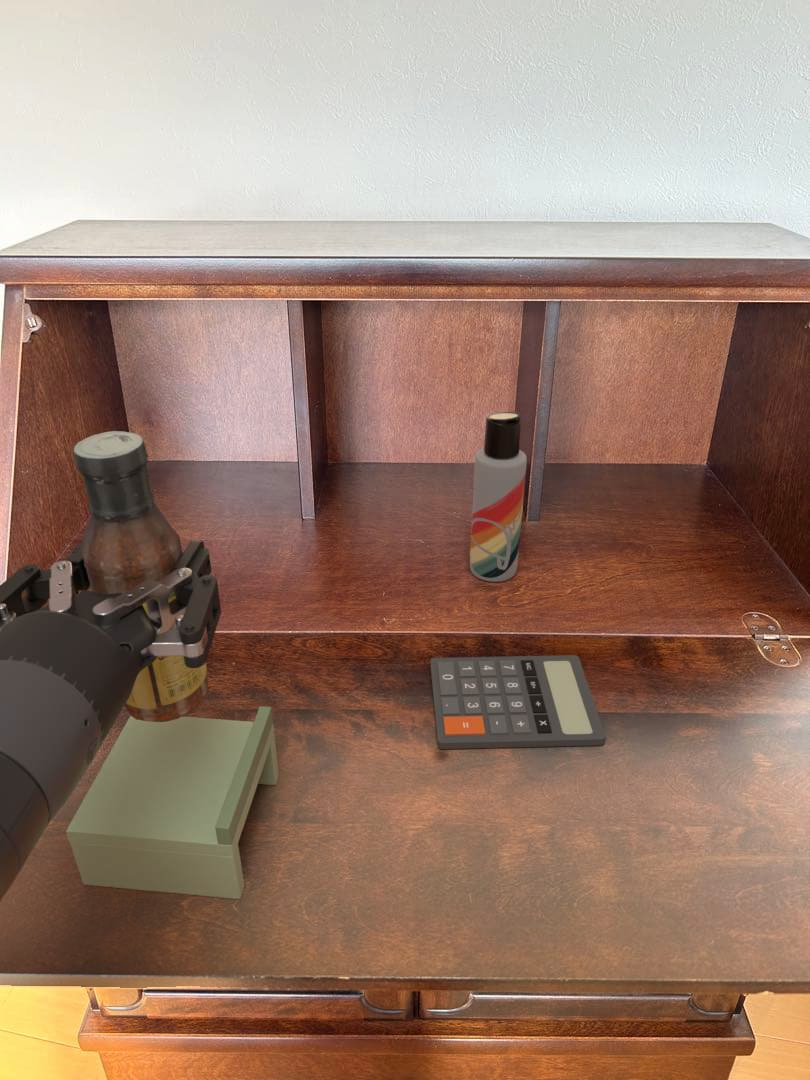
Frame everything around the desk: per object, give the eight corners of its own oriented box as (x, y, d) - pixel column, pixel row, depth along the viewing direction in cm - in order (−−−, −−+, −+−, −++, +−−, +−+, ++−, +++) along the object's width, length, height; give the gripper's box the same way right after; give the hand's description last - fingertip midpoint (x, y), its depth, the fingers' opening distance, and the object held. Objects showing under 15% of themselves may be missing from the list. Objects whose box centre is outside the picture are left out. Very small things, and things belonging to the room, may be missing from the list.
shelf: (83, 885, 60) (59, 813, 56) (143, 763, 70) (128, 696, 66) (240, 900, 59) (228, 828, 55) (279, 774, 69) (271, 706, 65)
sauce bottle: (211, 666, 61) (178, 419, 51) (208, 723, 56) (170, 459, 46) (121, 674, 60) (69, 424, 50) (109, 733, 55) (48, 466, 45)
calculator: (430, 656, 81) (578, 653, 81) (429, 663, 81) (577, 660, 82) (438, 741, 71) (606, 737, 71) (437, 749, 71) (605, 745, 72)
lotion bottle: (483, 587, 93) (494, 427, 83) (460, 563, 98) (468, 408, 87) (525, 576, 95) (541, 419, 85) (501, 553, 100) (513, 400, 89)
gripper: (153, 674, 37) (249, 505, 52) (-137, 653, 39) (36, 494, 53) (176, 788, 41) (260, 601, 55) (-89, 766, 42) (60, 589, 57)
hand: (150, 549), depth 54 cm, fingers closed on sauce bottle, 6 cm apart
